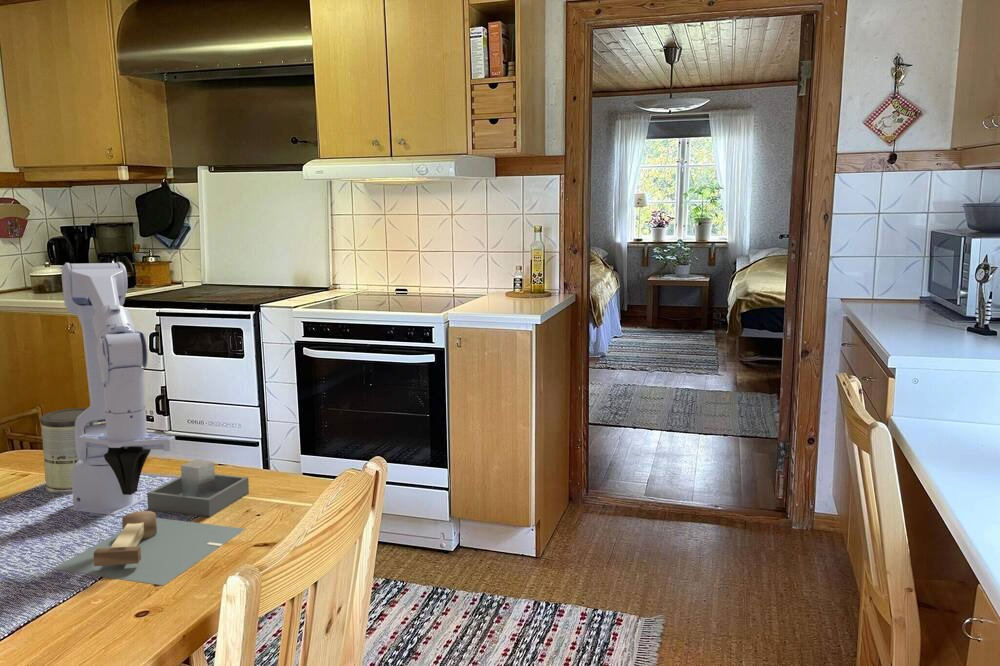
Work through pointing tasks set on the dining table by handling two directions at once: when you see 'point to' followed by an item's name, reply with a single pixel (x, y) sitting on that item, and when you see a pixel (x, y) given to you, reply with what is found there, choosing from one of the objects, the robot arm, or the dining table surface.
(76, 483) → the robot arm
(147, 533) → the crank lever
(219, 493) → the tray
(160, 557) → the crank board
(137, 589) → the dining table surface
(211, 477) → the block
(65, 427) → the coffee can
